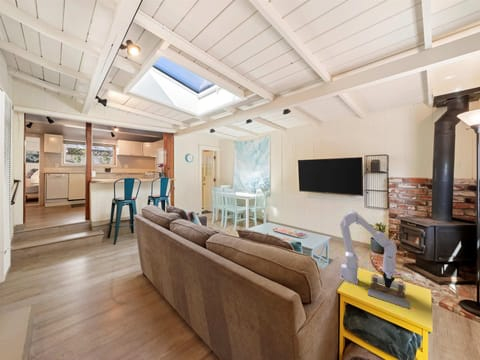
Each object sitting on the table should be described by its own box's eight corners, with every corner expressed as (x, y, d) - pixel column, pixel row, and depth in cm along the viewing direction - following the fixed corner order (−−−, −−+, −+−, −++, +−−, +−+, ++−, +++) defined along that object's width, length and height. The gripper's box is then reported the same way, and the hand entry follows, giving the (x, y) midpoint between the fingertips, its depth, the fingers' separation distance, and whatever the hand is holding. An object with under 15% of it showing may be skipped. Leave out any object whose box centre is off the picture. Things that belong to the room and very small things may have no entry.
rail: (371, 281, 120) (371, 276, 120) (371, 279, 123) (371, 274, 123) (405, 291, 111) (405, 286, 111) (404, 288, 113) (405, 283, 113)
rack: (370, 287, 119) (371, 277, 119) (371, 283, 124) (371, 273, 124) (405, 298, 110) (406, 287, 110) (404, 293, 115) (405, 282, 114)
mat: (367, 295, 112) (367, 294, 112) (368, 288, 119) (368, 287, 119) (409, 309, 102) (409, 308, 102) (407, 300, 108) (407, 300, 108)
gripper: (398, 269, 108) (396, 293, 109) (397, 260, 120) (395, 282, 120) (382, 265, 112) (381, 288, 113) (382, 256, 124) (381, 278, 124)
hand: (387, 285), depth 117 cm, fingers open, 5 cm apart
